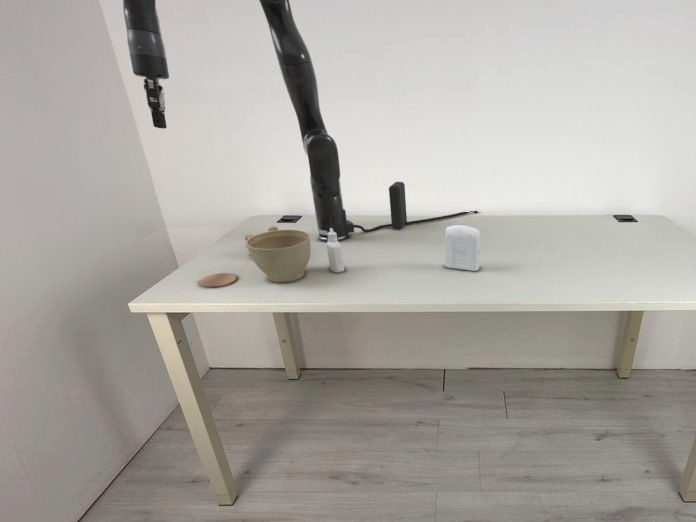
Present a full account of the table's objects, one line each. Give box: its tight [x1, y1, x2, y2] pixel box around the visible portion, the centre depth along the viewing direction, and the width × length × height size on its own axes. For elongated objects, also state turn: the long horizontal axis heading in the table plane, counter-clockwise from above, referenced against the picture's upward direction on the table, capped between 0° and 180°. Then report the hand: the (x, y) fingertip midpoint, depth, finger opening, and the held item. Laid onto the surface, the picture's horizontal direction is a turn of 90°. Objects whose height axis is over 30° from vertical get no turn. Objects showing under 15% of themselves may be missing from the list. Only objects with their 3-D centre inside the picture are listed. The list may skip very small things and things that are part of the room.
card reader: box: [388, 181, 408, 230], centre depth 169 cm, size 9×4×15 cm, turn 172°
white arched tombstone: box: [444, 224, 481, 272], centre depth 134 cm, size 10×4×12 cm, turn 73°
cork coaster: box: [199, 273, 237, 289], centre depth 128 cm, size 9×9×1 cm
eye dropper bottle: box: [326, 228, 345, 273], centre depth 133 cm, size 4×6×12 cm
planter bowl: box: [245, 229, 312, 283], centre depth 128 cm, size 16×16×11 cm
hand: (160, 128), depth 121 cm, fingers open, 8 cm apart
